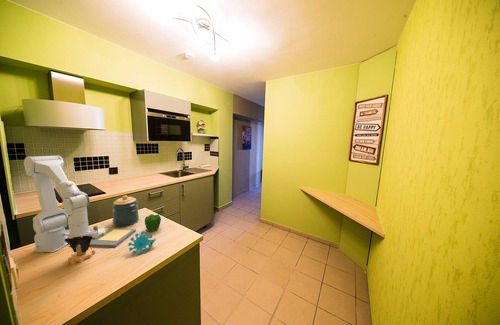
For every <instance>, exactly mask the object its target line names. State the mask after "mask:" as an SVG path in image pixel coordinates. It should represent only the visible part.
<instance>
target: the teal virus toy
mask: <svg viewBox="0 0 500 325" xmlns="http://www.w3.org/2000/svg"><path fill="white" fill-rule="evenodd" d="M134 235H135V237H136V239H135V238H134V237H131V238H130V241H132V242H133V243H132V242H129V243H128V244H127V246H128V248H129V252H132V254H133V255H135V254H136V253H137V254H138V255H141V254H142V251H143V252H144V253H146V252H148V249H151V248H152V244H154V243H155V242H156V240H157V239H156V238H153V234H150V233H149V231H147V232H146V233H145V232H144V231H141V232H140V235H139V233H136V234H134ZM152 238H153V239H152ZM130 246H132V247H130ZM147 246H148V249H147ZM134 249H135V250H134ZM132 250H133V251H132ZM137 251H138V252H137Z"/></svg>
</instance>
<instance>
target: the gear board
mask: <svg viewBox="0 0 500 325" xmlns="http://www.w3.org/2000/svg"><path fill="white" fill-rule="evenodd" d="M92 228H93V229H92V230H95V231H98V234H99V235H98V236H96V237H93V238H92V240H91V242H90V245H89V247H90V248H93V247H96V248H97V247H98V248H117V247H118V246H119V245H121V244H122V243H123V242H124V241H125V240H127V239H128V238H129V237H131V236H132V235H134V233H135V232H137V231H136V230H137V229H134V228H133V229H132V228H108V227H107V228H106V226H102V227H98V225H94V226H93V227H92Z"/></svg>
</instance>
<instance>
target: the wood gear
mask: <svg viewBox="0 0 500 325" xmlns="http://www.w3.org/2000/svg"><path fill="white" fill-rule="evenodd" d="M95 253H96V251H95V248H94V249H93V247H89V249H88V250H87V251H86V252H84V253H82V251H81V246H80V244H79V245H77V246H76V252H73V253H71V254H70V255H71V256H69V257H67V262H68V263H70V264H71V265H74V264H76V263H84V261H85V260H87V259H91V258H92V257H93V255H94V254H95Z"/></svg>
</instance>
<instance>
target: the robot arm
mask: <svg viewBox="0 0 500 325" xmlns="http://www.w3.org/2000/svg"><path fill="white" fill-rule="evenodd" d="M64 164H65V162H64V159H63V157H62V156H61V155H58V154H56V155H39V156H26V157H25V158H24V160H23V166H24V170H25V174H26V176H30V177H33V180H34V185H35V188H36V189H35V190H36V193H37V196H38V197H37V198H38V201H39V204H40V205H39V206H40V212H39V213H38V214H36V215H35V216H33V218H32V222H33V223H32V226H33V227H32V228H33V230H34V232H35V235H34V236H33V237H34V238H33V239H34V245H35V249H34V250H33V252H35V253H36V252H37V253H54V252H57V251H58V250H60V249H63V248H64V247H66V246H68V245H69V246H70V247H71V249H72V251H73V253H76V246H77V245H79V244H80V246H81V251H82V253H84V252H86V251H87V250H88V249H89V248H90V246H89V245H90V242H91V240H92V238H93V237H96V236H98V235H99V234H98V231H95V230H93V229H92V228H89V227H90V226H89V219H88V216H89V215H88V208H87V206H89V205H90V201H91V200H90V197H89V196H88V194H87V193H86V192H83V191H81V190H80V188H78V186H77V185H76V183H75V182H74V181H71V180H69V179H68V177H67V176H66V173H65V172H64ZM53 182H54V183H55V184H56V186H55V189H54V183H53ZM55 191H56V192H57V194H58V195H59V197H60V198H61V200H62V207H63V208H60V207H59V205H58V201H57V198H56V192H55ZM67 226H68V229H66V227H67Z"/></svg>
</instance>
